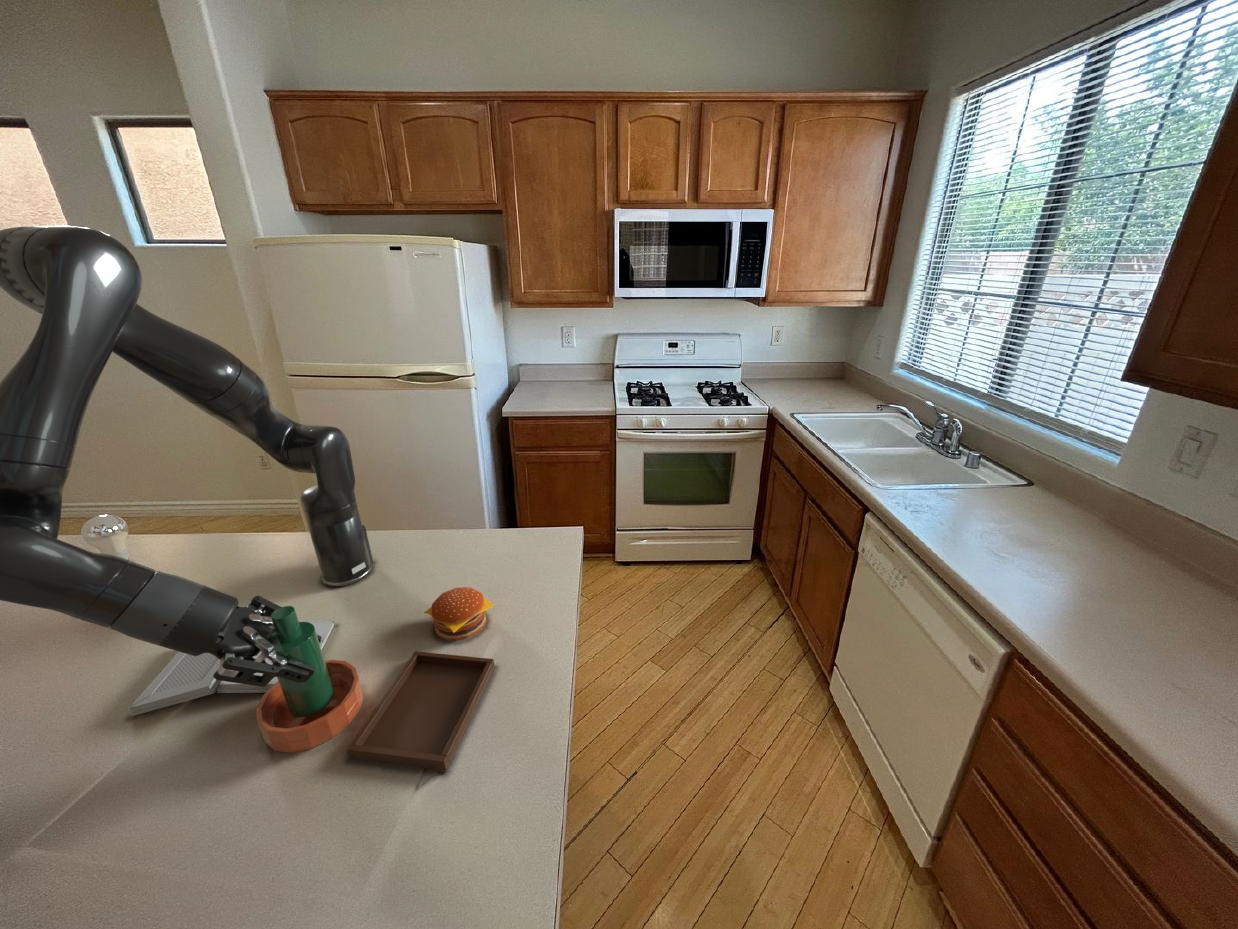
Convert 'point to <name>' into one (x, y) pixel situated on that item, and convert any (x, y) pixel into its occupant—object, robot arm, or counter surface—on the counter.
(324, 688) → the bottle
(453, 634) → the hamburger
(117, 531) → the light bulb
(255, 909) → the counter surface
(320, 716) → the bowl
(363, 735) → the tray
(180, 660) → the gadget
